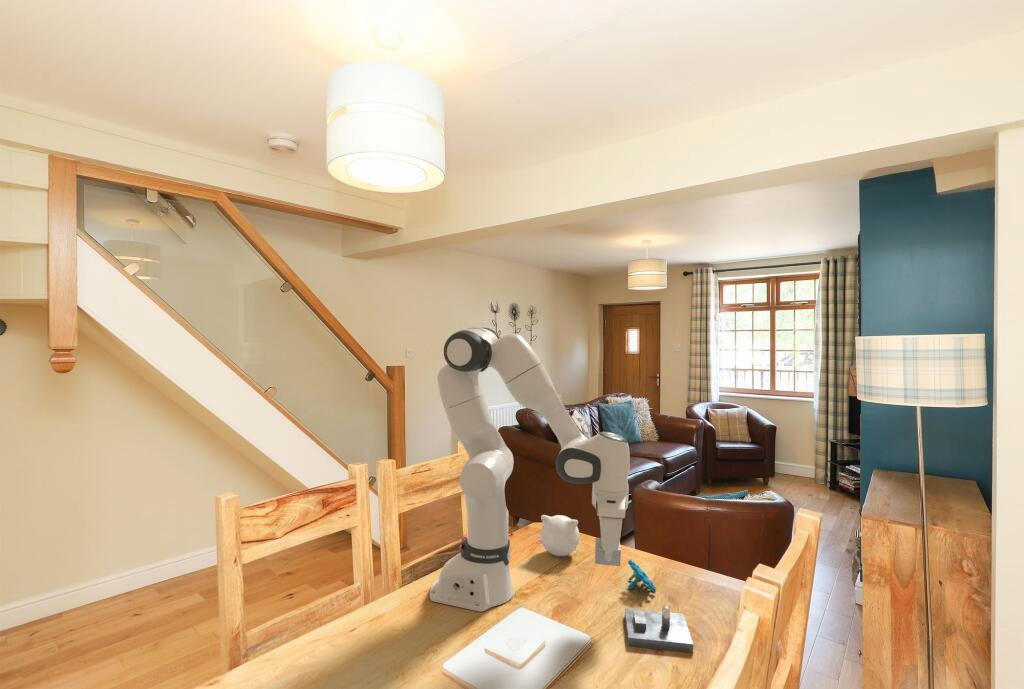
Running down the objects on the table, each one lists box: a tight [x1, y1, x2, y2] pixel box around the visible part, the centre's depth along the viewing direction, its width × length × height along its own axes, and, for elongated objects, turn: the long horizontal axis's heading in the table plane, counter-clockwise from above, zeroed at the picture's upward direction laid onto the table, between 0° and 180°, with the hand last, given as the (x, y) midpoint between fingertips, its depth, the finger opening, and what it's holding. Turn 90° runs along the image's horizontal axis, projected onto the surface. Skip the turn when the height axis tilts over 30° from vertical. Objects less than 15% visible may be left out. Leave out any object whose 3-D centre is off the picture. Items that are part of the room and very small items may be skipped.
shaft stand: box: [624, 604, 694, 654], centre depth 118 cm, size 14×12×6 cm
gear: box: [627, 559, 657, 593], centre depth 139 cm, size 11×6×10 cm
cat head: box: [533, 514, 580, 557], centre depth 159 cm, size 15×13×12 cm
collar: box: [594, 537, 622, 567], centre depth 126 cm, size 6×6×4 cm
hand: (607, 552), depth 126 cm, fingers closed on collar, 6 cm apart
